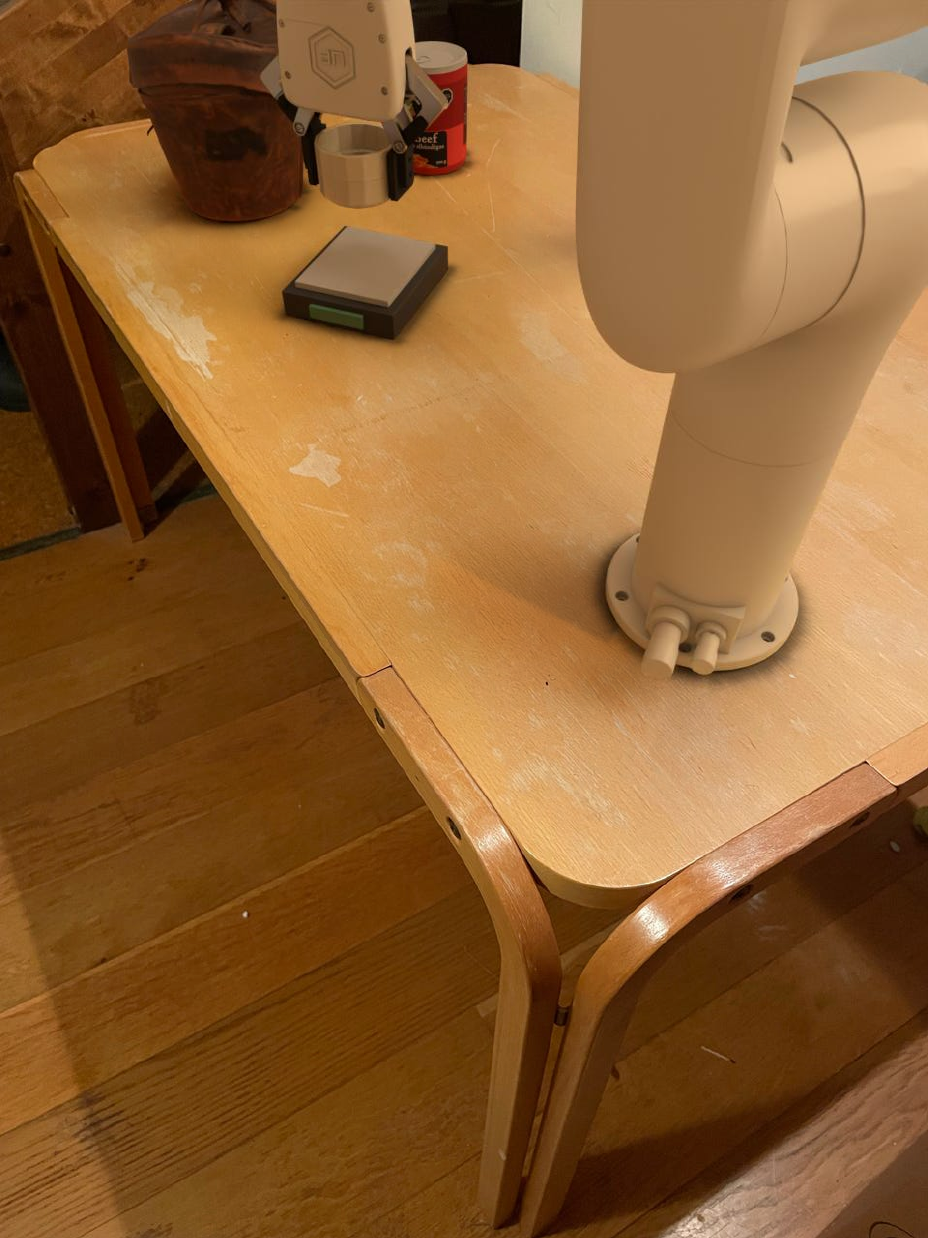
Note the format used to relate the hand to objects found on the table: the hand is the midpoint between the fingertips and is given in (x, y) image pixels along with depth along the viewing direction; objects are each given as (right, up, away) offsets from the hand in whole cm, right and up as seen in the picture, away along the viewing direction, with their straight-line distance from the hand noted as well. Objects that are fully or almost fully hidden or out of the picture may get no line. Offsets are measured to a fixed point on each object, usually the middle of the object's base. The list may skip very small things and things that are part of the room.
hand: (359, 184), depth 77 cm
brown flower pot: (-15, +9, +20) cm, 27 cm away
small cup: (0, 0, +1) cm, 1 cm away
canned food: (+5, +15, +26) cm, 30 cm away
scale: (0, -6, +8) cm, 10 cm away
